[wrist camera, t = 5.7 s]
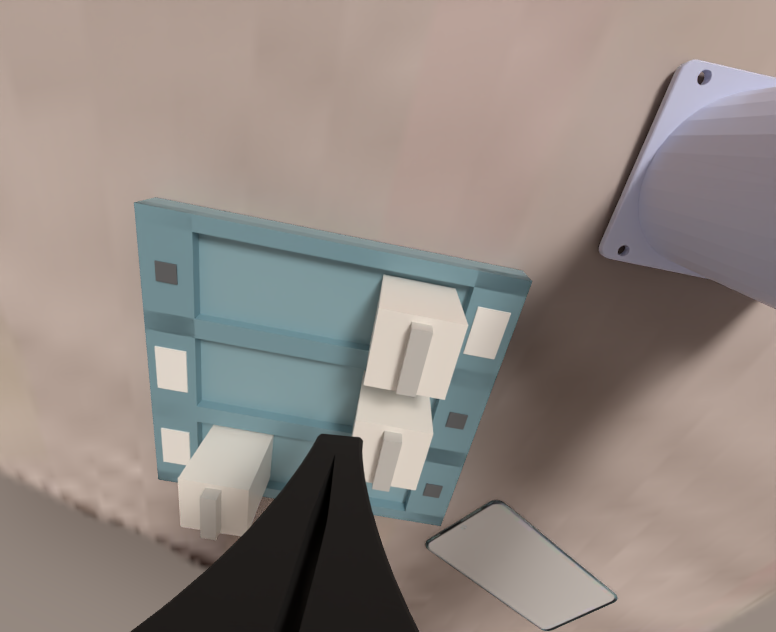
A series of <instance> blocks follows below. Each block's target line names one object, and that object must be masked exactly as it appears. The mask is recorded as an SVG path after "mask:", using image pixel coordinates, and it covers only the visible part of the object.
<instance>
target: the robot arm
mask: <svg viewBox="0 0 776 632" xmlns="http://www.w3.org/2000/svg"><path fill="white" fill-rule="evenodd" d="M700 72H703V73H704V76H705V77H704V81H703V82H702V83H701V84H700V85H699V84H698V82H697V78H698V75H699V74H700ZM623 245H625V250H624V251H623V252H622V253H620V254H618V249H619V248H620V247H621V246H623ZM599 253H600V254H601V255H602V256H604V257H606V258H608V259H612V260H617V261H622V262H627V263H632V264H637V265H642V266H647V267H652V268H657V269H662V270H667V271H672V272H676V273H681V274H686V275H691V276H696V277H701V278H706V279H711V280H713V281H715V282H717V283H719V284H722V285H724V286H726V287H728V288H730V289H733V290H735V291H737V292H739V293H741V294H744V295H746V296H748V297H750V298H752V299H754V300H757V301H759V302H761V303H763V304H765V305H768V306H770V307H772V308H774V309H776V78H775V77H770V76H766V75H762V74H757V73H753V72H749V71H744V70H740V69H736V68H732V67H727V66H723V65H719V64H714V63H710V62H706V61H701V60H691V61H687V62H685V63H683V64H681V65H680V66H679V67H678V68H677V70H676V71H675V73H674V75H673V77H672V80H671V82H670V84H669V86H668V89H667V91H666V93H665V96H664V98H663V100H662V103H661V105H660V107H659V109H658V112H657V114H656V116H655V119H654V121H653V123H652V125H651V128H650V130H649V132H648V135H647V137H646V139H645V142H644V144H643V146H642V148H641V151H640V153H639V155H638V158H637V160H636V162H635V165H634V167H633V169H632V171H631V174H630V176H629V178H628V181H627V183H626V185H625V187H624V190H623V192H622V194H621V197H620V199H619V201H618V204H617V206H616V208H615V210H614V213H613V215H612V217H611V220H610V222H609V224H608V227H607V229H606V231H605V233H604V236H603V238H602V240H601V243H600V245H599ZM362 449H363V440H362V439H361V438H360V437H352V436H342V435H332V434H320V435H319V436H318V437H317V439H316V440H315V442H314V444H313V446H312V447H311V449H310V451H309V452H308V454H307V455H306V457H305V459H304V460H303V462H302V463H301V465H300V466H299V467H298V469H297V470H296V472H295V473H294V474H293V476H292V477H291V478H290V480H289V481H288V483H287V484H286V485H285V487H284V488H283V489H282V490H281V492H280V493H279V494H278V495H277V497H276V498H275V499H274V500H273V501H272V503H271V504H270V505H269V506H268V508H267V509H266V510H265V511H264V512H263V513H262V515H261V516H260V517H259V518H258V519H257V520H256V521H255V522H254V524H253V525H252V526H251V527H250V528H249V529H248V530H247V531H246V532H245V533H244V534H243V535H242V536H241V537H240V538H239V539H238V540H237V541H236V542H235V543H234V544H233V545H232V546H231V547H230V548H229V549H228V550H227V551H226V552H225V553H224V554H223V555H222V556H221V557H220V558H219V559H218V560H217V561H216V562H215V563H214V564H213V565H212V566H210V567H209V568H208V569H207V570H206V571H205V572H204V573H203V574H202V575H200V576H199V577H198V578H197V579H196V580H194V581H193V582H192V583H191V584H190V585H189V586H187V587H186V588H185V589H184V590H183V591H182V592H180V593H179V594H178V595H177V596H176V597H174V598H173V599H172V600H171V601H170V602H168V603H167V604H166V605H165V606H163V607H162V608H161V609H160V610H158V611H157V612H156V613H155V614H153V615H152V616H150V617H149V618H148V619H147V620H145V621H144V622H143V623H141V624H140V625H139V626H137V627H136V628H135V629H133V630H132V631H131V632H419V630H418V628H417V626H416V624H415V622H414V620H413V618H412V616H411V614H410V612H409V609H408V607H407V605H406V603H405V600H404V598H403V596H402V593H401V591H400V589H399V586H398V584H397V582H396V580H395V577H394V575H393V572H392V570H391V567H390V564H389V562H388V559H387V556H386V554H385V551H384V548H383V545H382V542H381V539H380V536H379V533H378V529H377V526H376V523H375V519H374V515H373V512H372V508H371V504H370V500H369V495H368V490H367V485H366V480H365V474H364V466H363V454H362Z"/></svg>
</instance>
